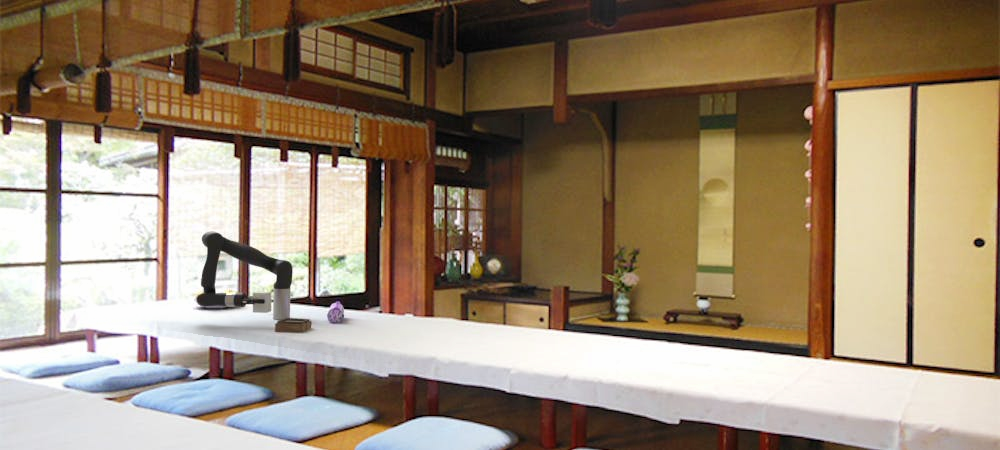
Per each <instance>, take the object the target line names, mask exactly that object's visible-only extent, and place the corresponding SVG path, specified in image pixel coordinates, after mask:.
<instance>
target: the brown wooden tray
mask: <svg viewBox="0 0 1000 450" xmlns="http://www.w3.org/2000/svg"><path fill="white" fill-rule="evenodd" d="M274 325H275V326H274V333H299V332H302V333H304V332H307V331H309V330H310V329H312V320H310V318H291V317H290V318H285V319H279V321H277V322H276V323H274Z"/></svg>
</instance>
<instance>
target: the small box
mask: <svg viewBox="0 0 1000 450" xmlns="http://www.w3.org/2000/svg"><path fill="white" fill-rule="evenodd" d="M252 296H253V298H254V299H264V300H265V303H264V304H252V313H260V314H262V313H263V314H265V313H267V314H268V313H270V312H272V291H255V292H252Z"/></svg>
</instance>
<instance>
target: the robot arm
mask: <svg viewBox="0 0 1000 450" xmlns="http://www.w3.org/2000/svg"><path fill="white" fill-rule="evenodd" d="M201 242H202V244H203V245H204V246H205V248H207V252H206V260H205V263H204V266H203V268H202V273H201V279H200V286H201V287H202V288H203V290H202V291H203V293H201V294H199V295H198V296H197V295H196V296H197V303H198V304H199V305H198V304H197V303H196V304H197V305H198V306H200V305H201V306H200V307H202V306H230V307H229V308H231V307H232V308H233V307H234V308H245V307H246V305H253V304H264V303H265V300H264V299H254V298H253V295H249V296H248V295H247V293H246V292H234V293H223V292H218V293H217V292H216V286H215V285H216V280H217V279H216V277H217V271H218V266H219V265H218V264H219V261H220V260H219V259H220V255H221V252H222V253H225V254H227V255H229V256H230V257H232V258H234V259H236V260H238V261H241V262H243V263H246V264H248V265H252V266H255V267H258V268H262V269H263V270H266V271H268V272H270V273H272V274H274V275H276V280H275V281H274V283H273V294H272V295H273V302H272V305H273V307H272V312H273V313H272V316H273V317H272V319H273V320H282V319H285V318H291V285H292V283H293V273H294V272H293V265H292V263H291V262H290V261H288V260H283V259H280V258H279V259H278V258H274V257H271V256H269V255H267V254H265V253H264V252H262V251H261V250H259V249H257V248H255V247H253V246H250V245H249V244H246V243H242V242H239V241H234V240H231V239H229V238H226V237H225V236H223V235H222V234H221V233H219V232H217V231H214V230H209V231H206V232H205V233H203V235H202V237H201Z"/></svg>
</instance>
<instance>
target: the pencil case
mask: <svg viewBox="0 0 1000 450" xmlns="http://www.w3.org/2000/svg"><path fill="white" fill-rule="evenodd" d="M344 313H345V309H344V306H343V305H342V303H341V301H335V302H334V303H331V305H330V306H329V308H328V310H327V314H326V315H327V316H326V317H327V320H328V322H330V323H332V324H340V323H341V322H342V321H343V319H344V318H345V314H344Z"/></svg>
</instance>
